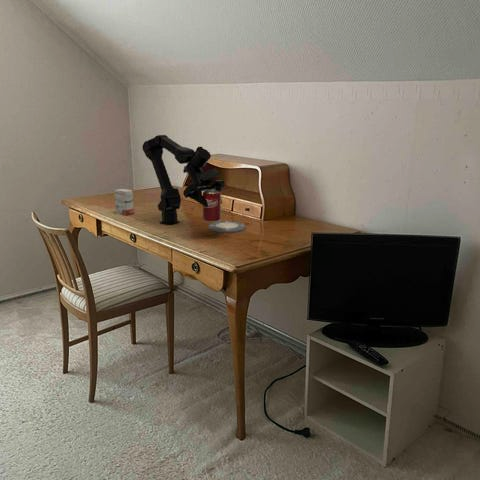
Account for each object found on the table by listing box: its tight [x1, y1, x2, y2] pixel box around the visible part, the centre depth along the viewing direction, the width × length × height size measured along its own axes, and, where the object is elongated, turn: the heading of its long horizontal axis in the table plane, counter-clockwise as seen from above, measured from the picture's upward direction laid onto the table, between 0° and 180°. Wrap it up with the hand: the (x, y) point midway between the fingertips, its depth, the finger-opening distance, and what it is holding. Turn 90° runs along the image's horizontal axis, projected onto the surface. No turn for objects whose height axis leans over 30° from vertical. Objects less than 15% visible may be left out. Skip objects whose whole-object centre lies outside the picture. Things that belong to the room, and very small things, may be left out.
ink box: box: [114, 188, 135, 216], centre depth 243 cm, size 9×5×12 cm, turn 53°
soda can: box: [202, 190, 222, 223], centre depth 203 cm, size 7×7×12 cm
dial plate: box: [208, 220, 246, 234], centre depth 219 cm, size 16×16×1 cm
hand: (214, 205), depth 202 cm, fingers closed on soda can, 7 cm apart
